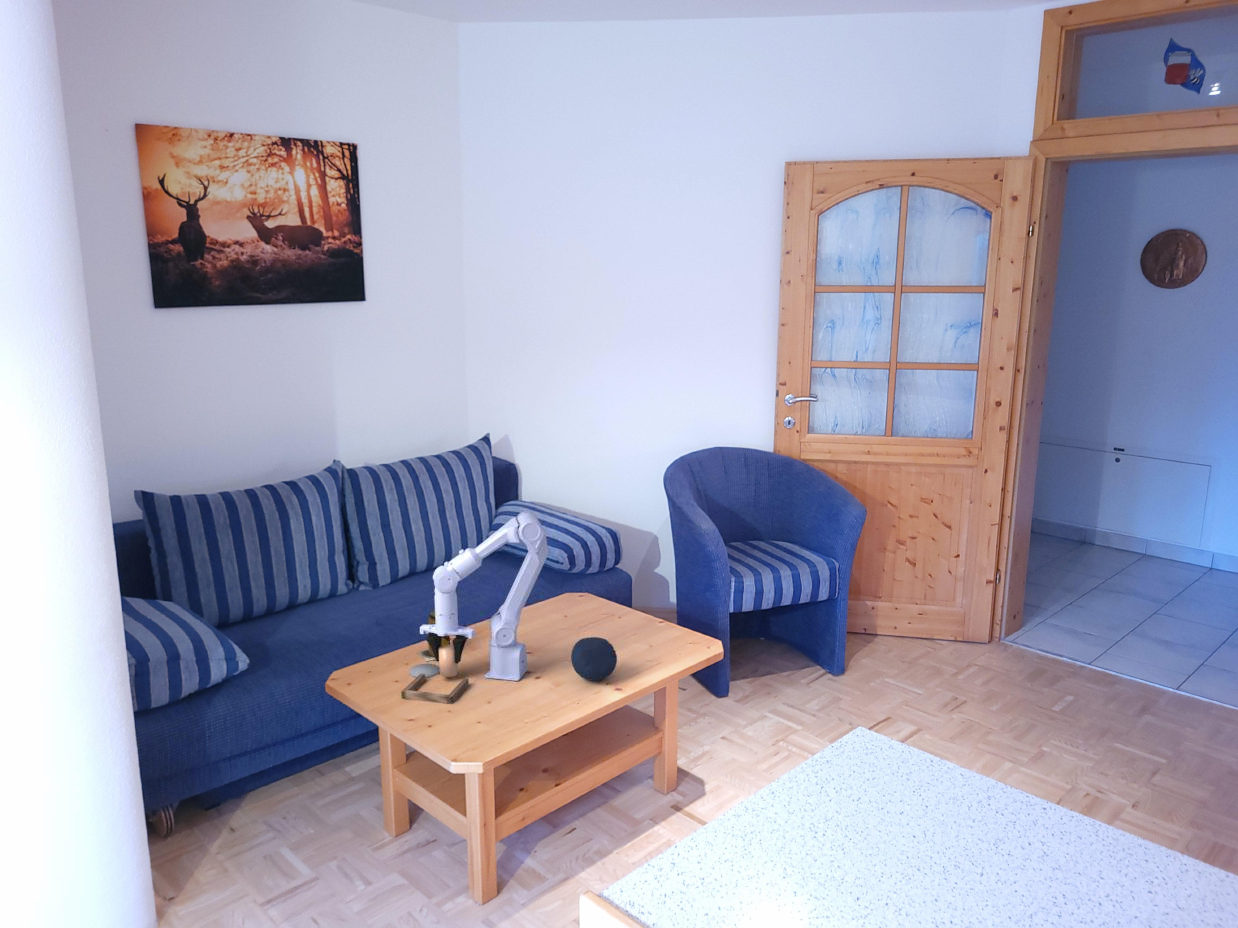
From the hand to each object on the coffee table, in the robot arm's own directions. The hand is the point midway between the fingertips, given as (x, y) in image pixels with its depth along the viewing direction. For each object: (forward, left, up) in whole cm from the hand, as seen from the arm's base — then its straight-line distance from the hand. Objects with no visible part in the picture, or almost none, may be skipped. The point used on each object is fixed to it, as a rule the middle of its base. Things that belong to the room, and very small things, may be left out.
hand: (448, 661), depth 245 cm
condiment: (+10, -14, -5) cm, 18 cm away
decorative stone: (-37, -9, -5) cm, 38 cm away
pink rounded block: (0, -1, -3) cm, 3 cm away
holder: (0, +8, -5) cm, 9 cm away
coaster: (+8, -2, -5) cm, 10 cm away
